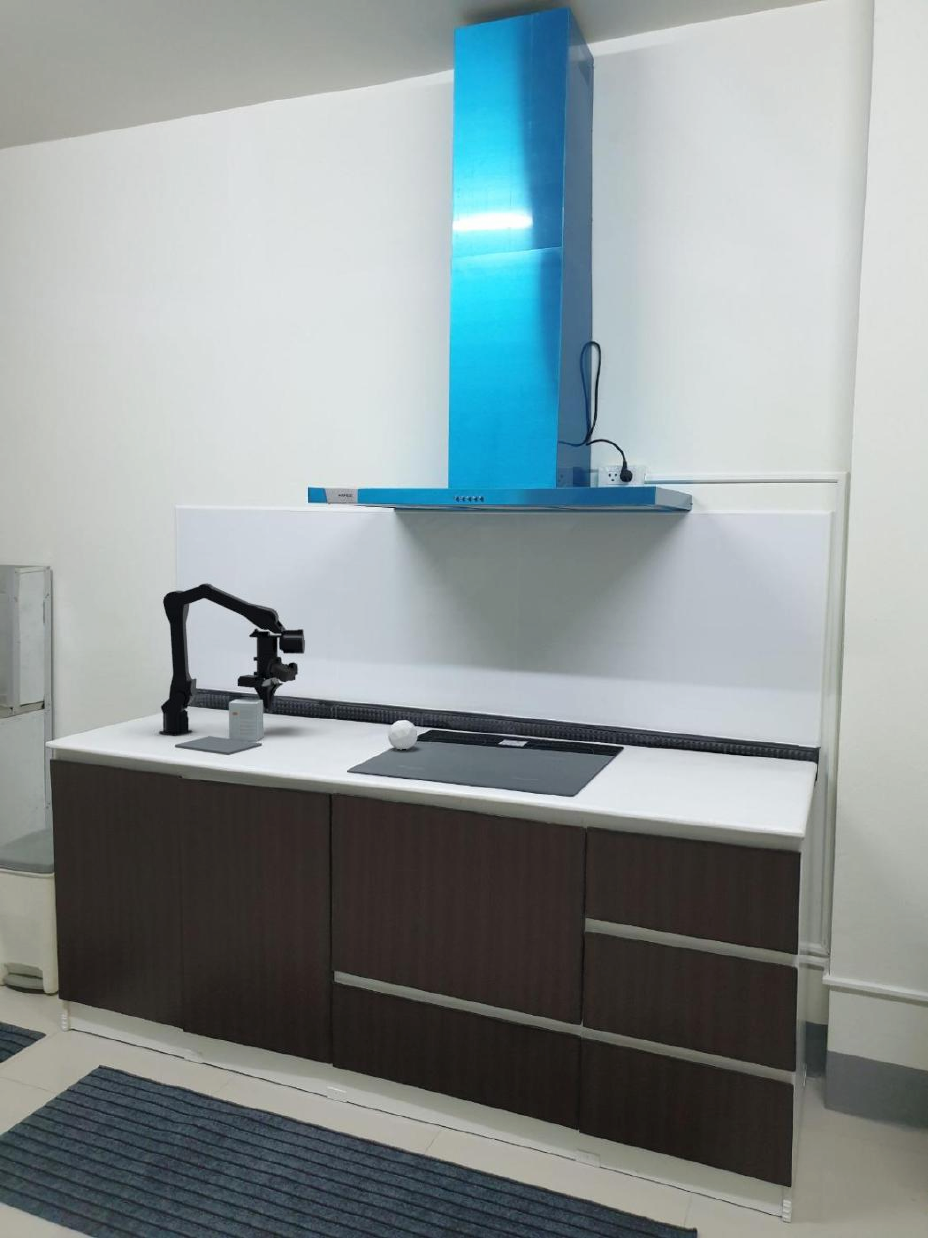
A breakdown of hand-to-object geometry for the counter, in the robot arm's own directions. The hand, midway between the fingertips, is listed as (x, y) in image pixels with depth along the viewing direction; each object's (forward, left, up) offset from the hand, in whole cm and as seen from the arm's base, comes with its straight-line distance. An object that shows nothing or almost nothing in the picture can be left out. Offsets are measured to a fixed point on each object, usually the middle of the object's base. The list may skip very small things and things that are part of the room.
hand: (267, 708), depth 268 cm
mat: (0, -20, -7) cm, 21 cm away
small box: (0, -9, -7) cm, 11 cm away
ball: (+43, +2, -7) cm, 44 cm away
